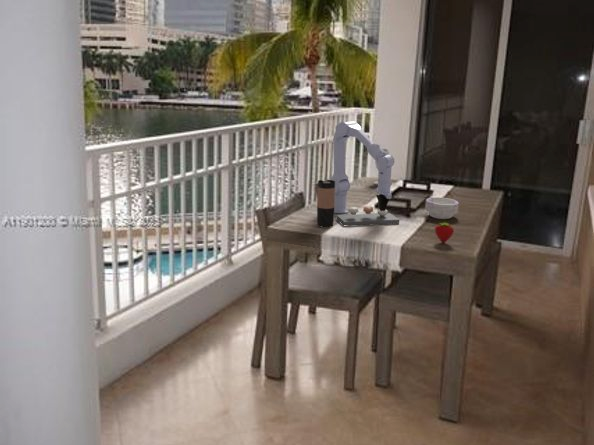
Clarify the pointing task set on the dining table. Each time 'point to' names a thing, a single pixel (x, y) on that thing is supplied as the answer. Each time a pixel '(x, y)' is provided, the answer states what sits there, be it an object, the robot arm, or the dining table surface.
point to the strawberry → (444, 231)
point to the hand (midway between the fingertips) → (382, 210)
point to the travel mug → (325, 203)
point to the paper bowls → (441, 207)
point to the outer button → (382, 213)
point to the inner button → (353, 210)
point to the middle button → (368, 210)
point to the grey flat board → (367, 219)
